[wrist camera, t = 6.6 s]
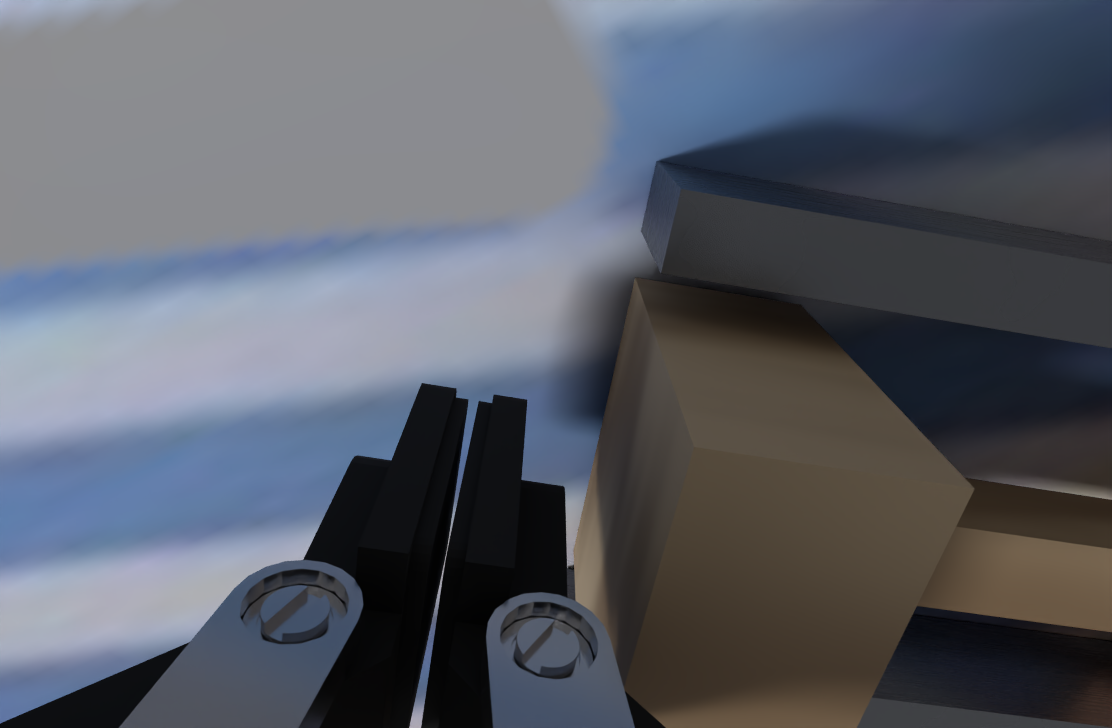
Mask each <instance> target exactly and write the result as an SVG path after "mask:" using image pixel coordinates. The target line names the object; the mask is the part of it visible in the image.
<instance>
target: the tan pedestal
mask: <svg viewBox="0 0 1112 728" xmlns="http://www.w3.org/2000/svg"><path fill="white" fill-rule="evenodd" d="M574 572H575V598H576V601H577V602H578V603H580V604H581V605H583V606H584V607H586V608H587V609H589V610H590V611H592V612H593V614H594V615H595V616H596V617H597V618H598V619H599V620H600V621H601V622H602V623H603V625H604V627H605V629H606V631H607V633H608V635H609V638H610V640H611V644H612V647H613V651H614V655H615V658H616V662H617V665H618V669H619V673H620V676H621V680H622V683H623V687H624V690H625V691H626V692H627V693H628V694H629V695H630V696H631V697H632V698H633V699H634V700H636V701H637V702H638V703H639V704H640V705H641V706H642V707H643V708H645V709H646V710H647V711H648V712H649V713H650V714H651V715H652V716H653V717H655V718H656V719H657V720H658V721H659V722H660V723H661V724H662V725H663V726H665V727H666V728H857V726H858V724H859V722H860V720H861V718H862V716H863V714H864V712H865V710H866V708H867V706H868V704H869V702H870V700H871V698H872V696H873V694H874V692H875V690H876V688H877V686H878V684H879V682H880V680H881V677H882V675H883V673H884V671H885V669H886V667H887V665H888V663H889V661H890V659H891V657H892V655H893V653H894V651H895V649H896V647H897V645H898V643H899V641H900V639H901V637H902V635H903V633H904V631H905V629H906V627H907V625H908V623H909V621H910V619H911V617H912V615H913V613H914V611H915V609H916V607H917V606H922V607H929V608H936V609H944V610H951V611H959V612H966V613H973V614H981V615H988V616H996V617H1003V618H1011V619H1018V620H1025V621H1033V622H1040V623H1048V624H1055V625H1062V626H1070V627H1077V628H1085V629H1092V630H1099V631H1107V632H1112V500H1109V499H1102V498H1095V497H1089V496H1082V495H1075V494H1069V493H1062V492H1055V491H1049V490H1042V489H1035V488H1028V487H1022V486H1015V485H1008V484H1002V483H995V482H988V481H982V480H975V479H968V478H964V477H963V476H962V475H961V474H960V473H959V472H958V470H957V469H956V468H955V467H954V466H953V465H952V464H951V463H950V462H949V461H948V460H947V459H946V458H945V457H944V456H943V455H942V454H941V453H940V451H939V450H938V449H937V448H936V447H935V446H934V445H933V444H932V443H931V442H930V441H929V440H928V439H927V438H926V437H925V436H924V435H923V434H922V432H921V431H920V430H919V429H918V428H917V427H916V426H915V425H914V424H913V423H912V422H911V421H910V420H909V419H908V418H907V417H906V416H905V414H904V413H903V412H902V411H901V410H900V409H899V408H898V407H897V406H896V405H895V404H894V403H893V402H892V401H891V400H890V399H889V398H888V397H887V395H886V394H885V393H884V392H883V391H882V390H881V389H880V388H879V387H878V386H877V385H876V384H875V383H874V382H873V381H872V380H871V379H870V378H869V376H868V375H867V374H866V373H865V372H864V371H863V370H862V369H861V368H860V367H859V366H858V365H857V364H856V363H855V362H854V361H853V360H852V359H851V357H850V356H849V355H848V354H847V353H846V352H845V351H844V350H843V349H842V348H841V347H840V346H839V345H838V344H837V343H836V342H835V341H834V340H833V338H832V337H831V336H830V335H829V334H828V333H827V332H826V331H825V330H824V329H823V328H822V327H821V326H820V325H819V324H818V323H817V322H816V320H815V319H814V318H813V317H812V316H811V315H810V314H809V313H808V312H807V311H806V310H805V309H804V308H803V307H802V306H801V305H799V304H793V303H787V302H781V301H775V300H769V299H763V298H757V297H751V296H745V295H739V294H733V293H726V292H720V291H714V290H708V289H702V288H696V287H690V286H684V285H678V284H672V283H666V282H660V281H654V280H648V279H642V278H636V277H635V280H634V285H633V289H632V294H631V298H630V302H629V307H628V311H627V316H626V320H625V325H624V329H623V334H622V338H621V342H620V347H619V351H618V356H617V360H616V365H615V369H614V373H613V378H612V382H611V387H610V391H609V396H608V400H607V404H606V409H605V413H604V418H603V422H602V427H601V431H600V435H599V440H598V444H597V449H596V453H595V458H594V462H593V466H592V471H591V475H590V480H589V484H588V489H587V493H586V497H585V502H584V506H583V511H582V515H581V520H580V524H579V529H578V533H577V537H576V542H575V546H574Z"/></svg>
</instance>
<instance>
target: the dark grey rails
mask: <svg viewBox="0 0 1112 728" xmlns="http://www.w3.org/2000/svg"><path fill="white" fill-rule="evenodd" d="M641 232H642V234H643V236H644V238H645V241H646V243H647V245H648V247H649V249H650V251H651V253H652V256H653V258H654V260H655V262H656V264H657V266H658V268H659V271H660V273H661V274H667V275H673V276H679V277H685V278H691V279H697V280H703V281H709V282H715V283H721V284H727V285H733V286H739V287H745V288H751V289H757V290H763V291H769V292H775V293H781V294H787V295H793V296H799V297H805V298H811V299H817V300H823V301H829V302H835V303H841V304H847V305H854V306H860V307H866V308H872V309H878V310H884V311H890V312H896V313H902V314H908V315H914V316H920V317H926V318H932V319H938V320H944V321H950V322H956V323H962V324H968V325H974V326H980V327H986V328H992V329H998V330H1004V331H1010V332H1016V333H1022V334H1028V335H1034V336H1040V337H1046V338H1052V339H1058V340H1064V341H1070V342H1076V343H1083V344H1089V345H1095V346H1101V347H1107V348H1112V242H1110V241H1104V240H1099V239H1093V238H1087V237H1082V236H1076V235H1071V234H1065V233H1059V232H1054V231H1048V230H1042V229H1037V228H1031V227H1025V226H1020V225H1014V224H1009V223H1003V222H997V221H992V220H986V219H980V218H975V217H969V216H964V215H958V214H952V213H947V212H941V211H935V210H930V209H924V208H918V207H913V206H907V205H902V204H896V203H890V202H885V201H879V200H873V199H868V198H862V197H857V196H851V195H845V194H840V193H834V192H828V191H823V190H817V189H811V188H806V187H800V186H795V185H789V184H783V183H778V182H772V181H766V180H761V179H755V178H749V177H744V176H738V175H733V174H727V173H721V172H716V171H710V170H704V169H699V168H693V167H688V166H682V165H676V164H671V163H665V162H659V161H657V162H656V166H655V171H654V175H653V180H652V184H651V189H650V193H649V198H648V202H647V207H646V211H645V216H644V220H643V225H642V229H641ZM567 593H568V598H569V599H572V600H574V601H576V598H575V572H574V569H567ZM857 728H1112V641H1105V640H1097V639H1090V638H1082V637H1075V636H1067V635H1060V634H1052V633H1045V632H1037V631H1030V630H1022V629H1015V628H1008V627H1000V626H993V625H985V624H978V623H970V622H963V621H955V620H948V619H940V618H933V617H926V616H918V615H912V617H911V619H910V621H909V623H908V625H907V627H906V629H905V631H904V633H903V635H902V637H901V639H900V641H899V643H898V645H897V647H896V649H895V651H894V653H893V655H892V657H891V659H890V661H889V663H888V665H887V667H886V669H885V671H884V673H883V675H882V677H881V680H880V682H879V684H878V686H877V688H876V690H875V692H874V694H873V696H872V698H871V700H870V702H869V704H868V706H867V708H866V710H865V712H864V714H863V716H862V718H861V720H860V722H859V724H858V726H857Z"/></svg>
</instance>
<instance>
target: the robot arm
mask: <svg viewBox="0 0 1112 728" xmlns="http://www.w3.org/2000/svg"><path fill="white" fill-rule="evenodd" d="M467 407H468V399H462V398H456V388H449V387H443V386H437V385H430V384H424V383H422V384H421V386H420V389H419V391H418V394H417V397H416V399H415V402H414V404H413V407H412V409H411V412H410V415H409V417H408V420H407V422H406V425H405V427H404V430H403V432H402V435H401V438H400V440H399V443H398V445H397V448H396V450H395V453H394V456H393V458H392V461H391V460H384V459H377V458H371V457H364V456H355V457H354V458H353V459H352V461H351V463H350V465H349V467H348V469H347V471H346V473H345V475H344V477H343V479H342V481H341V483H340V485H339V487H338V490H337V492H336V494H335V496H334V498H333V500H332V502H331V504H330V506H329V508H328V510H327V512H326V514H325V516H324V518H323V520H322V522H321V525H320V527H319V529H318V531H317V533H316V535H315V537H314V539H313V541H312V543H311V545H310V547H309V549H308V551H307V553H306V555H305V557H304V559H303V560H298V561H285V562H282V563H278V564H275V565H271V566H267V567H265V568H263V569H261V570H259V571H257V572H255V573H253V574H251V575H249V576H248V577H247V578H246V579H244V580H243V581H242V582H241V583H240V584H239V585H238V586H237V587H236V588H234V590H233V591H232V592H231V593H230V594H229V596H228V597H227V598H226V599H225V600H224V602H223V603H222V604H221V605H220V606H219V608H218V609H217V610H216V611H215V612H214V614H213V615H212V616H211V617H210V618H209V620H208V621H207V622H206V623H205V625H204V626H203V627H202V628H201V629H200V631H199V632H198V633H197V634H196V635H195V637H194V638H193V639H192V640H191V641H190V642H189V643H187V644H184V645H182V646H180V647H177V648H175V649H173V650H170V651H168V652H166V653H163V654H161V655H159V656H157V657H154V658H152V659H150V660H147V661H145V662H143V663H140V664H138V665H136V666H133V667H131V668H129V669H126V670H124V671H122V672H119V673H117V674H115V675H112V676H110V677H108V678H105V679H103V680H101V681H98V682H96V683H94V684H91V685H89V686H87V687H84V688H82V689H80V690H77V691H75V692H73V693H70V694H68V695H66V696H63V697H61V698H59V699H56V700H54V701H52V702H49V703H47V704H45V705H42V706H40V707H38V708H35V709H33V710H31V711H28V712H26V713H24V714H21V715H19V716H17V717H14V718H12V719H10V720H7V721H5V722H3V723H1V724H0V728H409V726H410V721H411V716H412V712H413V707H414V702H415V697H416V693H417V688H418V683H419V679H420V674H421V669H422V664H423V660H424V655H425V650H426V646H427V641H428V636H429V631H430V627H431V622H432V617H433V613H434V608H435V603H436V598H437V594H438V589H439V584H440V580H441V575H442V570H443V565H444V561H445V556H446V551H447V545H448V539H449V532H450V525H451V518H452V511H453V504H454V497H455V491H456V484H457V477H458V470H459V463H460V456H461V449H462V442H463V435H464V428H465V421H466V414H467ZM526 410H527V400H525V399H519V398H513V397H506V396H500V395H494V396H493V402H492V403H487V402H481V401H479V403H478V408H477V412H476V417H475V422H474V427H473V431H472V436H471V441H470V446H469V450H468V455H467V460H466V465H465V469H464V474H463V479H462V484H461V488H460V493H459V498H458V503H457V508H456V512H455V517H454V522H453V527H452V531H451V536H450V541H449V546H448V551H447V556H446V562H445V568H444V574H443V580H442V587H441V594H440V601H439V608H438V615H437V622H436V629H435V636H434V643H433V650H432V657H431V664H430V670H429V677H428V684H427V691H426V698H425V705H424V712H423V719H422V726H421V728H666V727H665V726H663V725H662V724H661V723H660V722H659V721H658V720H657V719H656V718H655V717H653V716H652V715H651V714H650V713H649V712H648V711H647V710H646V709H645V708H643V707H642V706H641V705H640V704H639V703H638V702H637V701H636V700H634V699H633V698H632V697H631V696H630V695H629V694H628V693H627V692H626V691H625V690H624V687H623V683H622V680H621V676H620V673H619V669H618V665H617V662H616V658H615V655H614V651H613V647H612V644H611V640H610V638H609V635H608V633H607V631H606V629H605V627H604V625H603V623H602V622H601V621H600V620H599V619H598V618H597V617H596V616H595V615H594V614H593V612H592V611H590V610H589V609H587V608H586V607H584V606H583V605H581V604H580V603H578V602H577V601H574V600H572V599H569V598H568V593H567V552H566V511H565V488H564V487H563V486H558V485H551V484H545V483H538V482H531V481H525V480H521V477H522V464H523V450H524V437H525V424H526Z"/></svg>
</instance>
